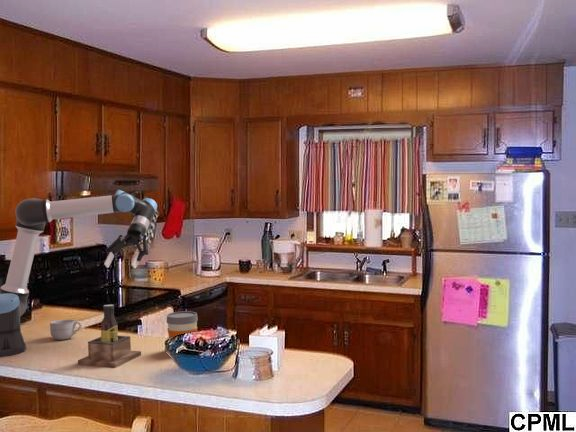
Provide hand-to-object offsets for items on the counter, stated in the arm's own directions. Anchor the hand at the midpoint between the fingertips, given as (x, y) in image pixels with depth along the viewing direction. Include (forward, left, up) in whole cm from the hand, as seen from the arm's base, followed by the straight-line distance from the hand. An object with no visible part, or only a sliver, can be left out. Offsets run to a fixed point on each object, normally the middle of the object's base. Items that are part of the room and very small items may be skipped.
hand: (119, 266), depth 262 cm
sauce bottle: (+8, -20, -32) cm, 39 cm away
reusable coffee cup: (+30, -2, -34) cm, 45 cm away
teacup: (-32, +3, -34) cm, 47 cm away
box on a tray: (+8, -20, -34) cm, 40 cm away
